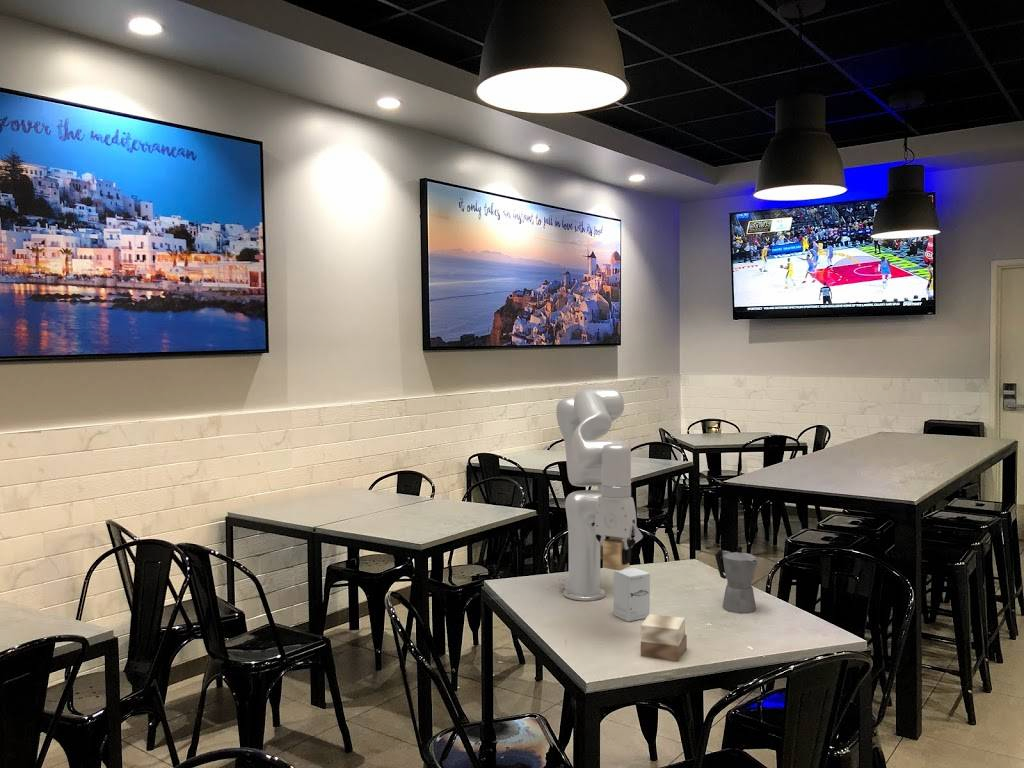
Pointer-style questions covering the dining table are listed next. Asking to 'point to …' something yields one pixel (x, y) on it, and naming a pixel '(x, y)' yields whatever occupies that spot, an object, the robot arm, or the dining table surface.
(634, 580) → the supplement box
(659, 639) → the maple slab
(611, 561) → the oak block
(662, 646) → the walnut slab
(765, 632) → the dining table surface
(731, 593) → the coffeepot
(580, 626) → the dining table surface
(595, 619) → the dining table surface
